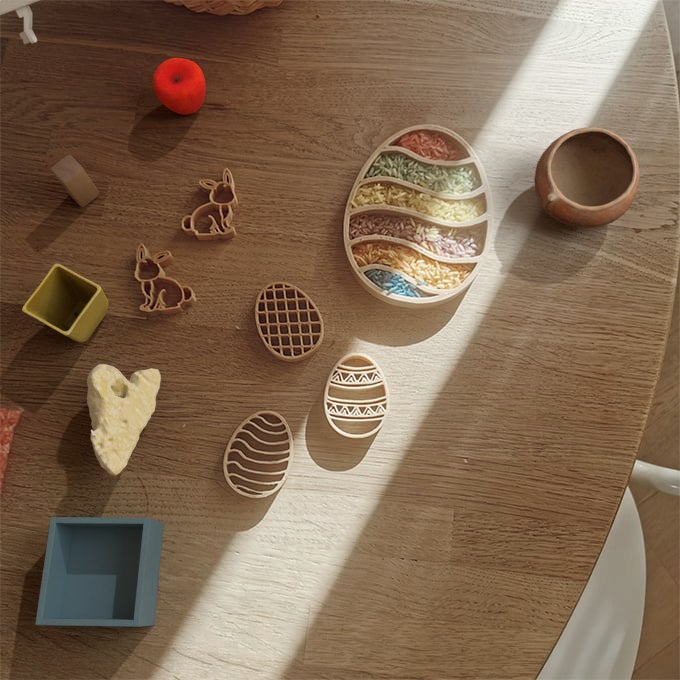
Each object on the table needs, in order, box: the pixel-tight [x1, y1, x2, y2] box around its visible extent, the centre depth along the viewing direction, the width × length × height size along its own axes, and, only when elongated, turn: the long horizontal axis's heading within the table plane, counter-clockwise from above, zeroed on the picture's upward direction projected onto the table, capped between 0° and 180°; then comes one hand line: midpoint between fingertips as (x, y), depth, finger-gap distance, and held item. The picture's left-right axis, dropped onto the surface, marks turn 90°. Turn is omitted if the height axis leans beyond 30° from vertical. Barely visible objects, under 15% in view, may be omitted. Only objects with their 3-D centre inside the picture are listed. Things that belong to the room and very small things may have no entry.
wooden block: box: [50, 154, 101, 208], centre depth 120 cm, size 4×4×8 cm
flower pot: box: [21, 263, 110, 343], centre depth 112 cm, size 9×9×9 cm
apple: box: [152, 57, 207, 116], centre depth 125 cm, size 9×9×8 cm
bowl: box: [534, 126, 641, 229], centre depth 114 cm, size 16×16×10 cm
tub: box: [34, 516, 165, 628], centre depth 99 cm, size 14×14×7 cm
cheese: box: [86, 363, 162, 476], centre depth 107 cm, size 15×7×15 cm
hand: (1, 54), depth 104 cm, fingers open, 8 cm apart
